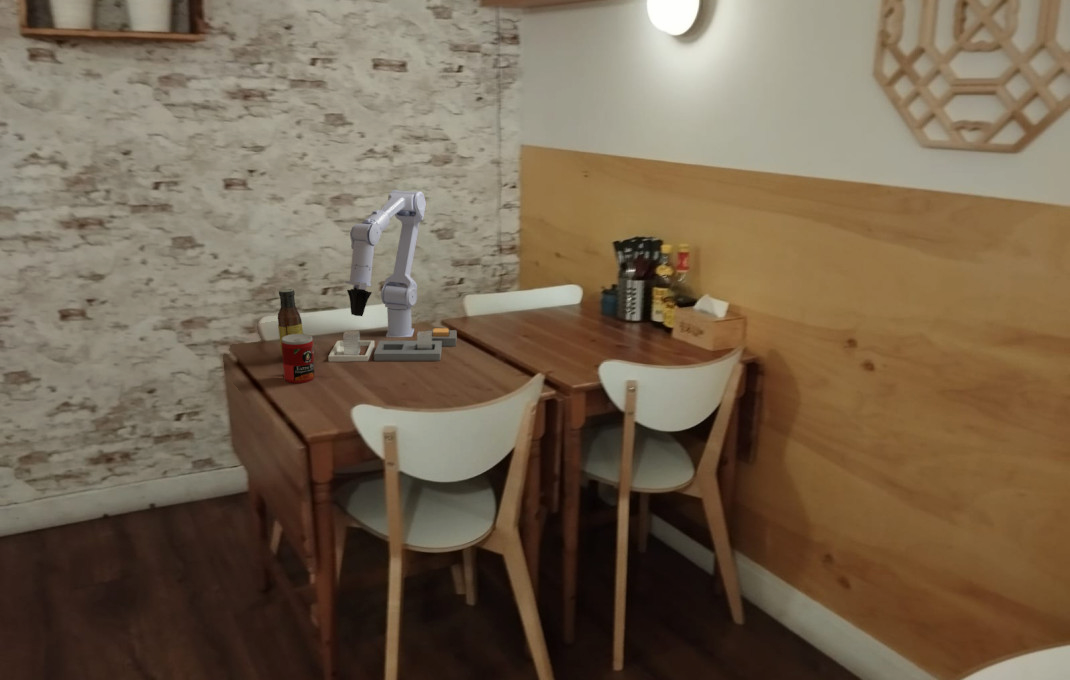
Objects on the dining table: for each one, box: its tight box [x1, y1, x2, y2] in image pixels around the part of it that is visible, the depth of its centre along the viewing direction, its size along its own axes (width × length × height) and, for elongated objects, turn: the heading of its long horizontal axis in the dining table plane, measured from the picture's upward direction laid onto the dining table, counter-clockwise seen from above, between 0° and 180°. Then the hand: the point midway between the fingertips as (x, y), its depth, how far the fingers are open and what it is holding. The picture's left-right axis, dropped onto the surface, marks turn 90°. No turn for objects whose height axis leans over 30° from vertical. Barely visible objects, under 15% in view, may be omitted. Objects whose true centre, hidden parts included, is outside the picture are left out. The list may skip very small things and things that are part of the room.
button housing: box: [426, 329, 458, 347], centre depth 248 cm, size 9×9×3 cm
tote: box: [327, 340, 375, 363], centre depth 235 cm, size 16×11×2 cm
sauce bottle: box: [277, 288, 304, 360], centre depth 227 cm, size 6×6×20 cm
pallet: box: [373, 340, 443, 362], centre depth 235 cm, size 13×18×3 cm
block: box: [416, 330, 433, 350], centre depth 235 cm, size 4×4×6 cm
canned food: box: [281, 333, 316, 384], centre depth 213 cm, size 8×8×11 cm
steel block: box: [342, 330, 361, 355], centre depth 235 cm, size 4×4×6 cm
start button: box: [432, 327, 450, 337], centre depth 247 cm, size 4×4×3 cm
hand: (356, 315), depth 232 cm, fingers open, 7 cm apart
